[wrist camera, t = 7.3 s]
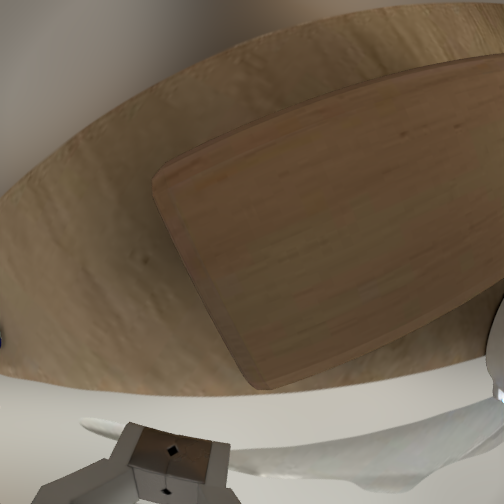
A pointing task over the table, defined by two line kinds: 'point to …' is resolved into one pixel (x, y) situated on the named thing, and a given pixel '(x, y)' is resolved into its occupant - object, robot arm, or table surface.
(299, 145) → the wooden block
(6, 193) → the table surface
